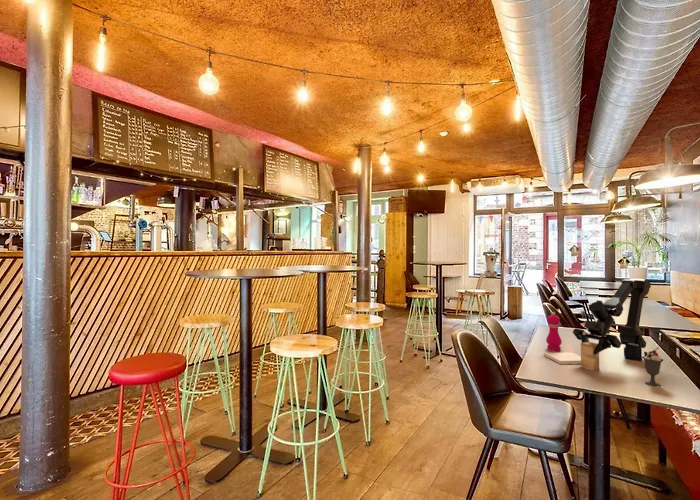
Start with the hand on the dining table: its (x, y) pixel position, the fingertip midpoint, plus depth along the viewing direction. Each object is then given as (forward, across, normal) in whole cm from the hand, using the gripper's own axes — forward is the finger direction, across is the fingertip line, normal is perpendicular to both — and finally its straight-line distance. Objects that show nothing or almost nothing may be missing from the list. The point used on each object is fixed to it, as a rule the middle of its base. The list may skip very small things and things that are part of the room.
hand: (587, 352), depth 165 cm
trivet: (+2, -13, +8) cm, 15 cm away
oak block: (+4, 0, +6) cm, 7 cm away
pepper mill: (-6, -28, +17) cm, 33 cm away
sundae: (+4, +24, +7) cm, 25 cm away
